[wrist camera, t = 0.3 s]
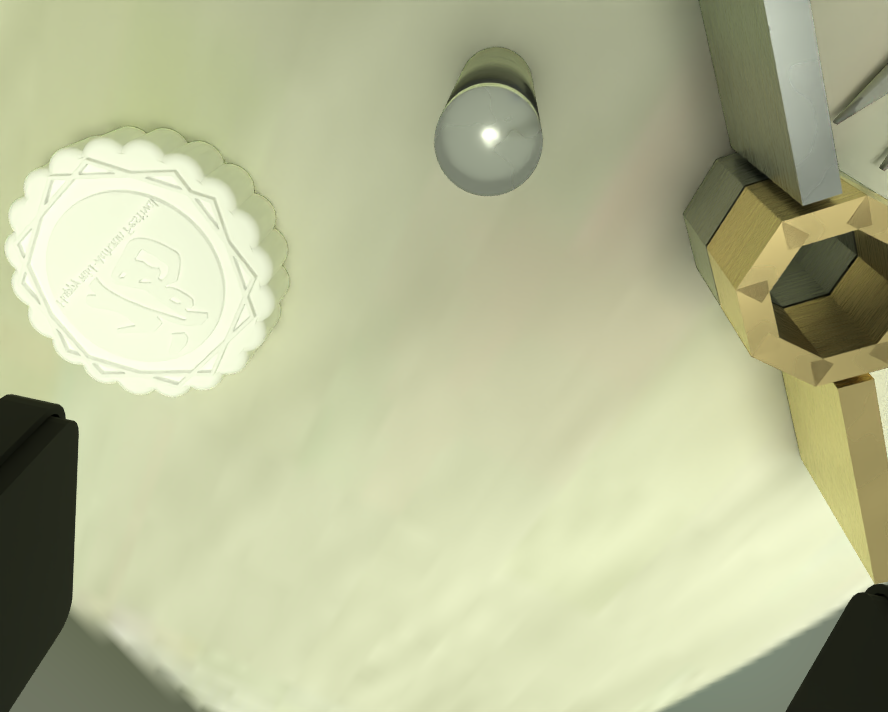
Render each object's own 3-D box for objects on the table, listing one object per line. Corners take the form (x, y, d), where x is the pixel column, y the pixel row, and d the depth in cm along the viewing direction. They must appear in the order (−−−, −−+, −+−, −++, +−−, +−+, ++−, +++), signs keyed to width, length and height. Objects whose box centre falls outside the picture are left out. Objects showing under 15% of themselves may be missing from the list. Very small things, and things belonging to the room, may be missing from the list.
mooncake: (183, 413, 42) (156, 450, 38) (-11, 245, 38) (-58, 270, 35) (344, 266, 38) (329, 294, 34) (142, 64, 34) (104, 74, 31)
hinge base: (782, -125, 29) (887, -161, 21) (848, 261, 35) (951, 350, 27) (614, -58, 31) (652, -67, 22) (705, 303, 37) (761, 401, 28)
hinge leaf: (827, 124, 33) (930, 175, 25) (881, 439, 39) (977, 562, 31) (673, 175, 34) (723, 239, 26) (748, 471, 40) (808, 598, 32)
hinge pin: (519, 35, 32) (523, 69, 22) (542, 108, 34) (556, 175, 23) (449, 62, 33) (418, 109, 22) (473, 133, 34) (455, 210, 23)
